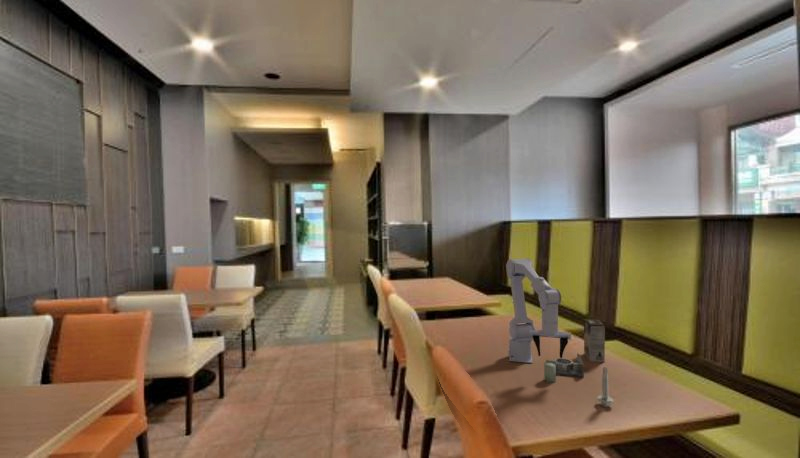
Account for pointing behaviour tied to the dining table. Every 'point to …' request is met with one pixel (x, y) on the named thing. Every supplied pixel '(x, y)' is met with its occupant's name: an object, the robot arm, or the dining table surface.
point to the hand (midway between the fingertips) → (550, 356)
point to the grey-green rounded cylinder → (550, 372)
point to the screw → (605, 391)
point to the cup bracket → (568, 367)
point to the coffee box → (594, 340)
